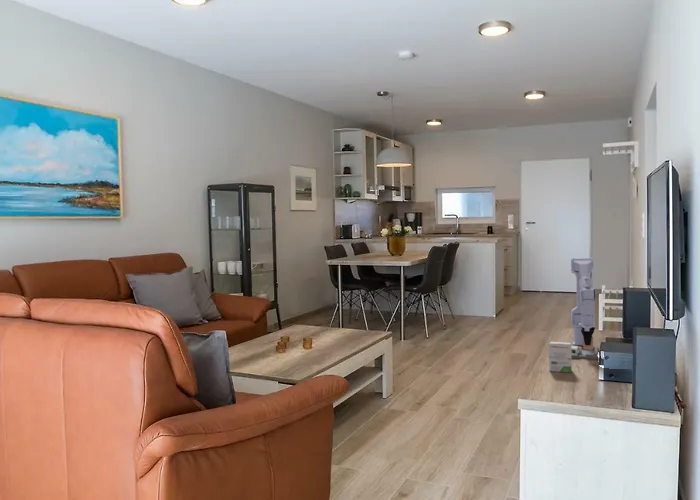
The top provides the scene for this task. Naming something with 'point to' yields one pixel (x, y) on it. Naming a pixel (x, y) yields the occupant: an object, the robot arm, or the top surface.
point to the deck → (585, 354)
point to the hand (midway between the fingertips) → (588, 344)
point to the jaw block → (588, 345)
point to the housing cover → (574, 349)
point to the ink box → (560, 357)
